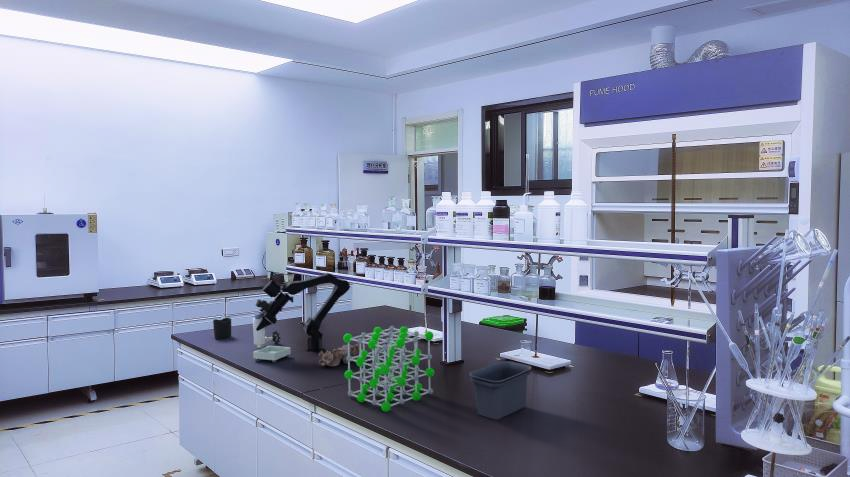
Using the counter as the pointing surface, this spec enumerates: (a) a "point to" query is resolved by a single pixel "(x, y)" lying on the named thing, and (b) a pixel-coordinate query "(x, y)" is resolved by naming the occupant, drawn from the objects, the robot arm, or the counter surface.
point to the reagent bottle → (258, 335)
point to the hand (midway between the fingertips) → (255, 329)
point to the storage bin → (500, 388)
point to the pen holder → (222, 328)
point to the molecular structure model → (388, 365)
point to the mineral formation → (337, 355)
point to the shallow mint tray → (271, 353)
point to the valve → (271, 339)
